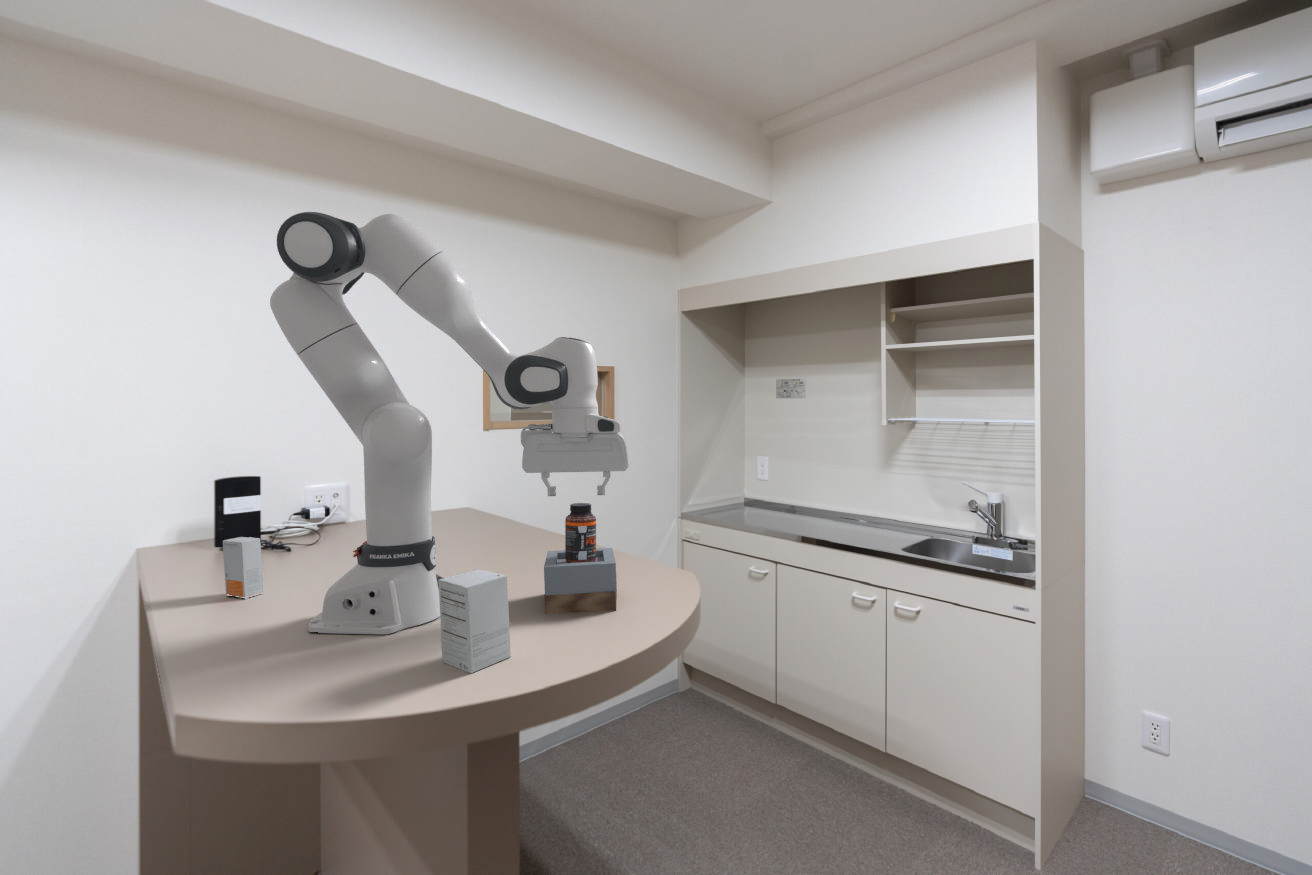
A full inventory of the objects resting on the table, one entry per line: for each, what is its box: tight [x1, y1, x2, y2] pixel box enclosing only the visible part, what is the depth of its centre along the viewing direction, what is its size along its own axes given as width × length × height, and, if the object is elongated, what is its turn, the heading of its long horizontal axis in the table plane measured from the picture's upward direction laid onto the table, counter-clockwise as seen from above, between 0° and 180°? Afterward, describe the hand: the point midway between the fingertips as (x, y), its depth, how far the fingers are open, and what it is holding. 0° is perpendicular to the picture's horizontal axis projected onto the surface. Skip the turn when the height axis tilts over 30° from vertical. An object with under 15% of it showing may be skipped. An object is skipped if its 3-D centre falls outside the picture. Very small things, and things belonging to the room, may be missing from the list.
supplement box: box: [437, 568, 512, 674], centre depth 93 cm, size 7×7×13 cm
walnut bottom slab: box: [543, 580, 618, 615], centre depth 120 cm, size 13×13×4 cm
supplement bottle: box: [564, 502, 597, 563], centre depth 120 cm, size 6×6×11 cm
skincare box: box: [222, 536, 264, 597], centre depth 131 cm, size 6×4×12 cm
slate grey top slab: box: [543, 547, 617, 595], centre depth 120 cm, size 13×13×5 cm
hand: (576, 495), depth 120 cm, fingers open, 8 cm apart
